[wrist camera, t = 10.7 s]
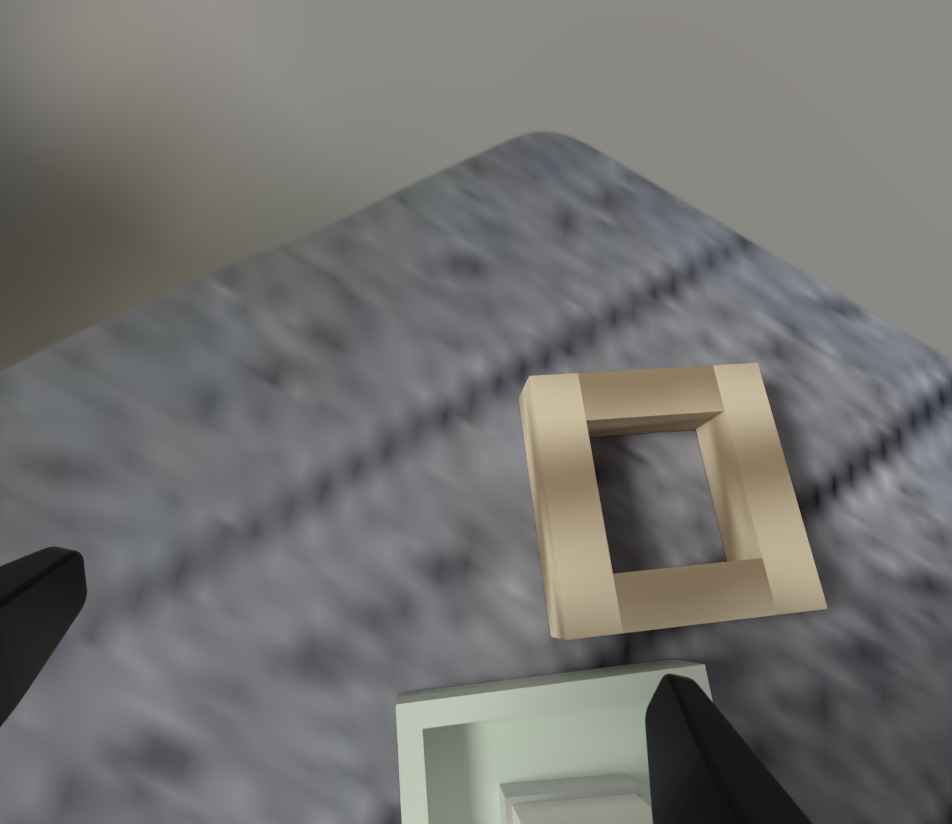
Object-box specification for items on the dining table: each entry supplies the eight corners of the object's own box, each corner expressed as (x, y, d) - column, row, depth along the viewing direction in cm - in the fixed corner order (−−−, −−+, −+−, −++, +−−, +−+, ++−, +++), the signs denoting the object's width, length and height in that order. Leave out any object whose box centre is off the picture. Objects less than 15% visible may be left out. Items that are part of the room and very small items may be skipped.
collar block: (785, 609, 23) (828, 608, 21) (551, 636, 22) (567, 639, 19) (726, 385, 26) (757, 362, 24) (518, 398, 25) (529, 376, 22)
